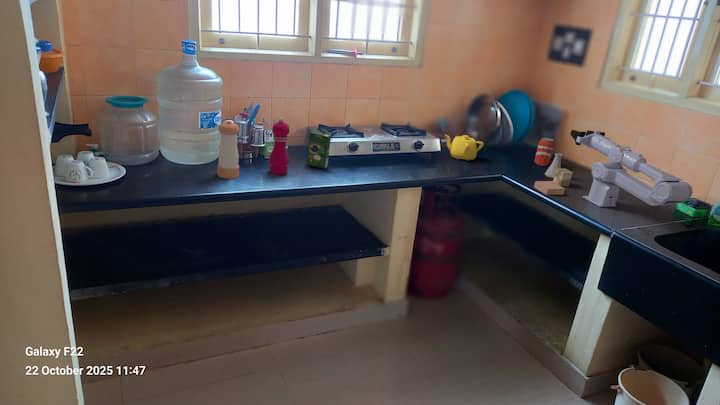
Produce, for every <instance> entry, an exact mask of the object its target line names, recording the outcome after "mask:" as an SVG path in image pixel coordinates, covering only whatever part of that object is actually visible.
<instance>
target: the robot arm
mask: <svg viewBox="0 0 720 405" xmlns="http://www.w3.org/2000/svg"><path fill="white" fill-rule="evenodd" d="M605 135H606V132H604V131H601V130H595V131H593V130H586V131H579V130H575V129H571V130H570V135H569V136H571V137H572V138H573V140H574V143H575V145H576V146H581V145H584V146H586V147H588V148H590V149H593V150H594V151H596V152H598V153H600V154H602V155H604V156H605V157H607V158H608V160H609V162H601V161H600V162H599V161H597V162H595V163H594V164H593V165H592V167H591V175H592V179H593V180H592V183H591V187H590V191H589V192H588V193H589V194H588V195H583V196H582V198H583V199H585V200H587V201H589V202H591V203H593V205H596V206H598V207H599V208H602V207H603V208H607V207H617V205H616V202H617V198H618V196H619V192H620V188H622V189H623V190H625V191H626V192H628V193H629V194H631V195H633V196H634V197H636V198H637V199H639V200H640V201H643V202H644V203H646V204H647V205H649V206H651V207H656V206H657V207H658V206H666V205H678V204H683V203H685V202H687V201H688V200H690V199H691V197H692V195H693V188H692V186H691V184H690V183H688V182H686V181H683V180H684V179H682V178H680V177H679V176H676V175H672V174H671V173H669V172H666V171H664V170H662V169H660V168H657V167H655V166H653V165H651V164H649V163H648V162H647V159H646V158H645V157H643V154H642V153H636V152H634V151H632V149H631V147H630V146H629V145H628V146H622V145H620V144H619V143H617V142H615V141H613V140H611V138H609V137H608V136H605ZM626 168H627V169H628V170H630V171H632V172H633V173H636V174H637V173H642V174H643V175H645V176H646V177H648V178H649V179H650V180H652V181H654V184H653V187H652V186H650V185H648V184H646V183H645V182H643V181H641V180H639V179H638V178H636V177H634V175H631V174H630V173H628V172H627V171H628V170H627V169H626Z"/></svg>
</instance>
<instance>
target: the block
mask: <svg viewBox="0 0 720 405" xmlns="http://www.w3.org/2000/svg"><path fill="white" fill-rule="evenodd" d="M573 174H574V172H573V171H571V170H569V169H567V168H561V169H556V173H555V176H554V178H553V180H552V181H553V182H554V183H556V184H558V185H560V186H561V187H570V184H571V180H572V176H573Z"/></svg>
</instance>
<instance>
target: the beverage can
mask: <svg viewBox="0 0 720 405" xmlns="http://www.w3.org/2000/svg"><path fill="white" fill-rule="evenodd" d="M554 141H555V140H554V138H553V139H552V138H550V137H541V138H540V140H539V141H538V145H537V150H536V153H535V158H534V160H533V161H534V163H535V164H536V165H537V166H540V167H547V166H550V160H551V157H552V154H553V150H554V146H555V143H554Z"/></svg>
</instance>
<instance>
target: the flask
mask: <svg viewBox="0 0 720 405" xmlns="http://www.w3.org/2000/svg"><path fill="white" fill-rule="evenodd" d="M563 156H564V155H563V154H562V153H559V152H555V153H554V159H553V161H552V163H551V164H549V166H548V168H547V170H546V172H544V175H545V176H546V177H547V178H551V179H554V176H555V173H556V169H562V167H561V163H562V158H563Z"/></svg>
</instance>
